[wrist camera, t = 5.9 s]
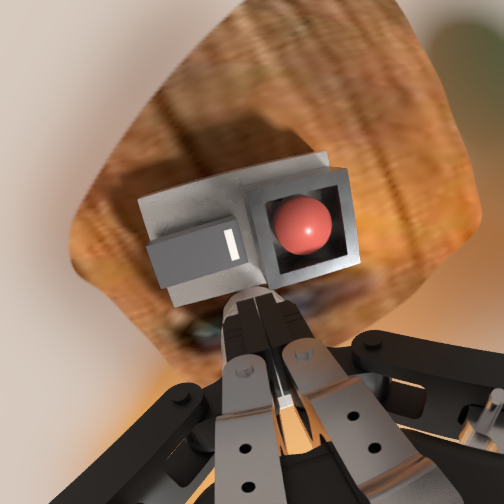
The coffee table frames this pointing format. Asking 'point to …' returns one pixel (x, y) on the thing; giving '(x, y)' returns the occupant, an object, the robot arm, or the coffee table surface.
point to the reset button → (302, 224)
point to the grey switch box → (258, 221)
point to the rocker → (197, 252)
